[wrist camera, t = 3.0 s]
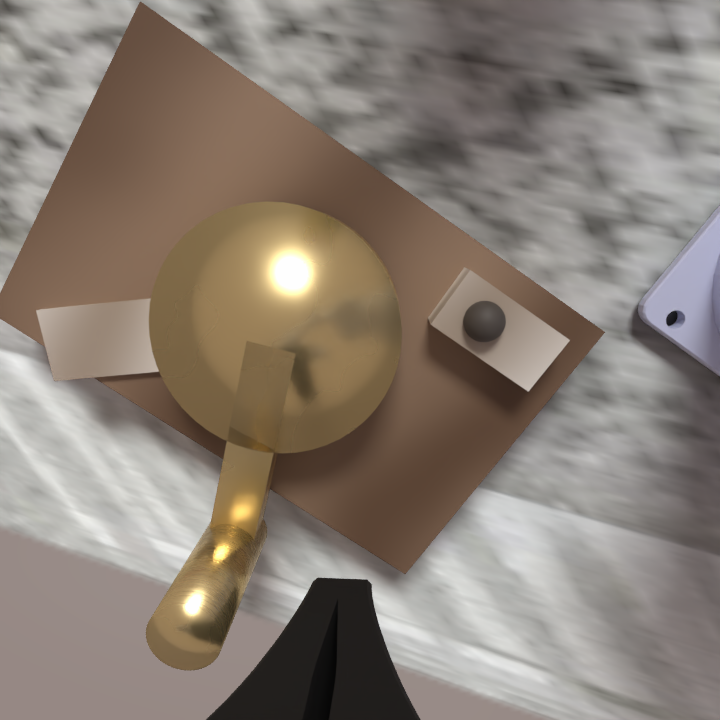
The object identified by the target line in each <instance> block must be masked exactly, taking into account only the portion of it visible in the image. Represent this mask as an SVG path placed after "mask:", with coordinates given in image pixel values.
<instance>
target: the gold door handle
mask: <svg viewBox="0 0 720 720" xmlns="http://www.w3.org/2000/svg"><path fill="white" fill-rule="evenodd" d="M149 336H150V342H151V347H152V352H153V355H154V359H155V362H156V365H157V368H158V370H159V372H160V374H161V377H162V379H163V381H164V383H165V384H166V386H167V388H168V389H169V391H170V393H171V394H172V396H173V397H174V398H175V400H176V401H177V402H178V403H179V405H180V406H181V407H182V408H183V409H184V410H185V411H186V412H187V413H188V414H189V415H190V416H191V417H192V418H193V419H194V420H195V421H196V422H197V423H199V424H200V425H201V426H202V427H204V428H205V429H206V430H208V431H210V432H211V433H213V434H214V435H216V436H218V437H219V438H221V439H223V440H226V441H227V443H226V448H225V453H224V458H223V463H222V468H221V473H220V478H219V483H218V488H217V493H216V499H215V504H214V509H213V514H212V519H211V522H210V524H209V526H208V527H207V529H206V530H205V532H204V534H203V535H202V537H201V538H200V540H199V542H198V543H197V545H196V546H195V548H194V550H193V551H192V553H191V554H190V556H189V558H188V559H187V561H186V562H185V564H184V566H183V567H182V569H181V571H180V572H179V574H178V575H177V577H176V579H175V580H174V582H173V583H172V585H171V587H170V588H169V590H168V591H167V593H166V595H165V596H164V598H163V599H162V601H161V603H160V604H159V606H158V607H157V609H156V611H155V612H154V614H153V616H152V617H151V619H150V620H149V622H148V625H147V628H146V639H147V643H148V645H149V647H150V649H151V651H152V652H153V654H154V655H155V656H156V657H157V658H158V659H159V660H160V661H162V662H163V663H165V664H167V665H168V666H171V667H173V668H176V669H181V670H198V669H202V668H204V667H206V666H208V665H210V664H211V663H212V662H213V661H214V660H215V659H216V658H217V657H218V655H219V653H220V651H221V648H222V646H223V643H224V641H225V639H226V636H227V634H228V631H229V629H230V626H231V624H232V621H233V619H234V617H235V614H236V612H237V609H238V607H239V604H240V602H241V599H242V597H243V594H244V592H245V589H246V587H247V585H248V582H249V580H250V577H251V575H252V572H253V570H254V567H255V565H256V562H257V560H258V558H259V555H260V553H261V550H262V548H263V545H264V543H265V540H266V537H267V527H266V524H265V521H264V519H263V517H264V512H265V508H266V503H267V499H268V494H269V490H270V486H271V481H272V477H273V472H274V468H275V463H276V459H277V455H278V453H297V452H303V451H308V450H313V449H316V448H319V447H322V446H326V445H328V444H330V443H332V442H334V441H337V440H339V439H341V438H342V437H344V436H345V435H347V434H349V433H350V432H352V431H353V430H355V429H356V428H357V427H358V426H359V425H361V424H362V423H363V422H364V421H365V420H366V419H367V418H368V417H369V416H370V415H371V414H372V413H373V412H374V411H375V409H376V408H377V407H378V405H379V404H380V402H381V401H382V400H383V398H384V397H385V395H386V393H387V391H388V389H389V387H390V385H391V383H392V381H393V378H394V375H395V372H396V370H397V367H398V362H399V357H400V352H401V341H402V328H401V315H400V307H399V302H398V297H397V293H396V290H395V287H394V284H393V281H392V278H391V276H390V274H389V272H388V270H387V268H386V266H385V264H384V263H383V261H382V260H381V258H380V257H379V255H378V254H377V252H376V251H375V250H374V249H373V248H372V247H371V245H370V244H369V243H368V242H367V241H366V240H365V239H364V238H363V237H362V236H361V235H359V234H358V233H357V232H356V231H355V230H354V229H352V228H351V227H349V226H348V225H346V224H345V223H343V222H342V221H340V220H338V219H336V218H334V217H332V216H330V215H328V214H325V213H322V212H319V211H316V210H313V209H310V208H307V207H304V206H300V205H295V204H290V203H284V202H256V203H247V204H243V205H239V206H234V207H231V208H228V209H226V210H223V211H221V212H218V213H216V214H214V215H212V216H210V217H209V218H207V219H205V220H203V221H201V222H200V223H199V224H197V225H196V226H195V227H194V228H192V229H191V230H190V231H188V232H187V233H186V234H185V235H184V236H183V237H182V239H181V240H180V241H179V242H178V243H177V244H176V245H175V246H174V248H173V249H172V250H171V252H170V253H169V255H168V256H167V257H166V259H165V261H164V263H163V265H162V267H161V269H160V271H159V273H158V276H157V278H156V281H155V284H154V287H153V291H152V295H151V300H150V307H149Z"/></svg>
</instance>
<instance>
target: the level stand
mask: <svg viewBox="0 0 720 720" xmlns="http://www.w3.org/2000/svg"><path fill="white" fill-rule="evenodd" d="M256 202H284V203H290V204H295V205H300V206H304V207H307V208H310V209H313V210H316V211H319V212H322V213H325V214H328V215H330V216H332V217H334V218H336V219H338V220H340V221H342V222H343V223H345V224H346V225H348V226H349V227H351V228H352V229H354V230H355V231H356V232H357V233H358V234H359V235H361V236H362V237H363V238H364V239H365V240H366V241H367V242H368V243H369V244H370V245H371V247H372V248H373V249H374V250H375V251H376V252H377V254H378V255H379V257H380V258H381V260H382V261H383V263H384V264H385V266H386V268H387V270H388V272H389V274H390V276H391V278H392V281H393V284H394V287H395V290H396V293H397V297H398V302H399V307H400V315H401V328H402V341H401V352H400V357H399V362H398V367H397V370H396V372H395V375H394V378H393V381H392V383H391V385H390V387H389V389H388V391H387V393H386V395H385V397H384V398H383V400H382V401H381V402H380V404H379V405H378V407H377V408H376V409H375V411H374V412H373V413H372V414H371V415H370V416H369V417H368V418H367V419H366V420H365V421H364V422H363V423H362V424H361V425H359V426H358V427H357V428H356V429H355V430H353V431H352V432H350V433H349V434H347V435H345V436H344V437H342V438H341V439H339V440H337V441H334V442H332V443H330V444H328V445H326V446H322V447H319V448H316V449H313V450H308V451H303V452H297V453H278V455H277V459H276V463H275V468H274V472H273V477H272V481H271V486H270V489H271V490H273V491H274V492H276V493H277V494H279V495H281V496H282V497H284V498H285V499H287V500H289V501H290V502H292V503H293V504H295V505H296V506H298V507H300V508H301V509H303V510H304V511H306V512H308V513H309V514H311V515H312V516H314V517H315V518H317V519H319V520H320V521H322V522H323V523H325V524H327V525H328V526H330V527H331V528H333V529H334V530H336V531H338V532H339V533H341V534H342V535H344V536H346V537H347V538H349V539H350V540H352V541H353V542H355V543H357V544H358V545H360V546H361V547H363V548H365V549H366V550H368V551H369V552H371V553H372V554H374V555H376V556H377V557H379V558H380V559H382V560H384V561H385V562H387V563H388V564H390V565H392V566H393V567H395V568H396V569H398V570H399V571H401V572H403V573H404V574H406V572H407V571H408V570H409V569H410V568H411V566H412V565H413V564H414V563H415V562H416V560H417V559H418V558H419V557H420V556H421V554H422V553H423V552H424V551H425V549H426V548H427V547H428V546H429V545H430V543H431V542H432V541H433V540H434V539H435V537H436V536H437V535H438V534H439V533H440V531H441V530H442V529H443V528H444V526H445V525H446V524H447V523H448V522H449V520H450V519H451V518H452V517H453V516H454V514H455V513H456V512H457V511H458V510H459V508H460V507H461V506H462V505H463V503H464V502H465V501H466V500H467V499H468V497H469V496H470V495H471V494H472V493H473V491H474V490H475V489H476V488H477V487H478V485H479V484H480V483H481V482H482V480H483V479H484V478H485V477H486V476H487V474H488V473H489V472H490V471H491V470H492V468H493V467H494V466H495V465H496V464H497V462H498V461H499V460H500V459H501V457H502V456H503V455H504V454H505V453H506V451H507V450H508V449H509V448H510V447H511V445H512V444H513V443H514V442H515V441H516V439H517V438H518V437H519V436H520V434H521V433H522V432H523V431H524V430H525V428H526V427H527V426H528V425H529V424H530V422H531V421H532V420H533V419H534V418H535V416H536V415H537V414H538V413H539V411H540V410H541V409H542V408H543V407H544V405H545V404H546V403H547V402H548V401H549V399H550V398H551V397H552V396H553V395H554V393H555V392H556V391H557V390H558V388H559V387H560V386H561V385H562V384H563V382H564V381H565V380H566V379H567V378H568V376H569V375H570V374H571V373H572V372H573V370H574V369H575V368H576V367H577V365H578V364H579V363H580V362H581V361H582V359H583V358H584V357H585V356H586V355H587V353H588V352H589V351H590V350H591V349H592V347H593V346H594V345H595V344H596V342H597V341H598V340H599V339H600V338H601V336H602V335H603V334H604V333H605V332H604V331H603V330H601V329H600V328H598V327H597V326H595V325H594V324H593V323H591V322H590V321H588V320H587V319H586V318H584V317H583V316H581V315H580V314H579V313H577V312H576V311H574V310H573V309H572V308H570V307H569V306H567V305H566V304H565V303H563V302H562V301H560V300H559V299H558V298H556V297H555V296H553V295H552V294H551V293H549V292H548V291H546V290H545V289H544V288H542V287H541V286H539V285H538V284H536V283H535V282H534V281H532V280H531V279H529V278H528V277H527V276H525V275H524V274H522V273H521V272H520V271H518V270H517V269H515V268H514V267H513V266H511V265H510V264H508V263H507V262H506V261H504V260H503V259H501V258H500V257H499V256H497V255H496V254H494V253H493V252H492V251H490V250H489V249H487V248H486V247H485V246H483V245H482V244H480V243H479V242H477V241H476V240H475V239H473V238H472V237H470V236H469V235H468V234H466V233H465V232H463V231H462V230H461V229H459V228H458V227H456V226H455V225H454V224H452V223H451V222H449V221H448V220H447V219H445V218H444V217H442V216H441V215H440V214H438V213H437V212H435V211H434V210H433V209H431V208H430V207H428V206H427V205H426V204H424V203H423V202H421V201H420V200H418V199H417V198H416V197H414V196H413V195H411V194H410V193H409V192H407V191H406V190H404V189H403V188H402V187H400V186H399V185H397V184H396V183H395V182H393V181H392V180H390V179H389V178H388V177H386V176H385V175H383V174H382V173H381V172H379V171H378V170H376V169H375V168H374V167H372V166H371V165H369V164H368V163H367V162H365V161H364V160H362V159H361V158H359V157H358V156H357V155H355V154H354V153H352V152H351V151H350V150H348V149H347V148H345V147H344V146H343V145H341V144H340V143H338V142H337V141H336V140H334V139H333V138H331V137H330V136H329V135H327V134H326V133H324V132H323V131H322V130H320V129H319V128H317V127H316V126H315V125H313V124H312V123H310V122H309V121H308V120H306V119H305V118H303V117H302V116H300V115H299V114H298V113H296V112H295V111H293V110H292V109H291V108H289V107H288V106H286V105H285V104H284V103H282V102H281V101H279V100H278V99H277V98H275V97H274V96H272V95H271V94H270V93H268V92H267V91H265V90H264V89H263V88H261V87H260V86H258V85H257V84H256V83H254V82H253V81H251V80H250V79H249V78H247V77H246V76H244V75H243V74H241V73H240V72H239V71H237V70H236V69H234V68H233V67H232V66H230V65H229V64H227V63H226V62H225V61H223V60H222V59H220V58H219V57H218V56H216V55H215V54H213V53H212V52H211V51H209V50H208V49H206V48H205V47H204V46H202V45H201V44H199V43H198V42H197V41H195V40H194V39H192V38H191V37H190V36H188V35H187V34H185V33H184V32H182V31H181V30H180V29H178V28H177V27H175V26H174V25H173V24H171V23H170V22H168V21H167V20H166V19H164V18H163V17H161V16H160V15H159V14H157V13H156V12H154V11H153V10H152V9H150V8H149V7H147V6H146V5H145V4H143V3H142V2H140V3H139V5H138V7H137V9H136V11H135V13H134V15H133V17H132V19H131V21H130V24H129V26H128V28H127V30H126V32H125V34H124V36H123V38H122V40H121V42H120V44H119V47H118V49H117V51H116V53H115V55H114V57H113V59H112V61H111V63H110V65H109V67H108V69H107V72H106V74H105V76H104V78H103V80H102V82H101V84H100V86H99V88H98V90H97V92H96V94H95V97H94V99H93V101H92V103H91V105H90V107H89V109H88V111H87V113H86V115H85V117H84V120H83V122H82V124H81V126H80V128H79V130H78V132H77V134H76V136H75V138H74V140H73V142H72V145H71V147H70V149H69V151H68V153H67V155H66V157H65V159H64V161H63V163H62V165H61V167H60V170H59V172H58V174H57V176H56V178H55V180H54V182H53V184H52V186H51V188H50V190H49V193H48V195H47V197H46V199H45V201H44V203H43V205H42V207H41V209H40V211H39V213H38V215H37V218H36V220H35V222H34V224H33V226H32V228H31V230H30V232H29V234H28V236H27V238H26V241H25V243H24V245H23V247H22V249H21V251H20V253H19V255H18V257H17V259H16V261H15V263H14V266H13V268H12V270H11V272H10V274H9V276H8V278H7V280H6V282H5V284H4V286H3V288H2V291H1V293H0V319H2V320H3V321H5V322H7V323H8V324H10V325H11V326H13V327H14V328H16V329H18V330H19V331H21V332H22V333H24V334H26V335H27V336H29V337H30V338H32V339H33V340H35V341H37V342H38V343H40V344H41V345H43V346H45V347H46V351H47V355H48V359H49V363H50V367H51V371H52V375H53V379H54V381H60V380H71V379H82V378H93V377H94V378H95V379H97V380H98V381H100V382H102V383H103V384H105V385H106V386H108V387H110V388H111V389H113V390H114V391H116V392H117V393H119V394H121V395H122V396H124V397H125V398H127V399H129V400H130V401H132V402H133V403H135V404H136V405H138V406H140V407H141V408H143V409H144V410H146V411H148V412H149V413H151V414H152V415H154V416H155V417H157V418H159V419H160V420H162V421H163V422H165V423H167V424H168V425H170V426H171V427H173V428H174V429H176V430H178V431H179V432H181V433H182V434H184V435H186V436H187V437H189V438H190V439H192V440H193V441H195V442H197V443H198V444H200V445H201V446H203V447H205V448H206V449H208V450H209V451H211V452H212V453H214V454H216V455H217V456H219V457H220V458H222V459H223V458H224V453H225V448H226V443H227V441H226V440H223V439H221V438H219V437H218V436H216V435H214V434H213V433H211V432H210V431H208V430H206V429H205V428H204V427H202V426H201V425H200V424H199V423H197V422H196V421H195V420H194V419H193V418H192V417H191V416H190V415H189V414H188V413H187V412H186V411H185V410H184V409H183V408H182V407H181V406H180V405H179V403H178V402H177V401H176V400H175V398H174V397H173V396H172V394H171V393H170V391H169V389H168V388H167V386H166V384H165V383H164V381H163V379H162V377H161V374H160V372H159V370H158V368H157V365H156V362H155V359H154V355H153V352H152V347H151V342H150V336H149V307H150V300H151V295H152V291H153V287H154V284H155V281H156V278H157V276H158V273H159V271H160V269H161V267H162V265H163V263H164V261H165V259H166V257H167V256H168V255H169V253H170V252H171V250H172V249H173V248H174V246H175V245H176V244H177V243H178V242H179V241H180V240H181V239H182V237H183V236H184V235H185V234H186V233H187V232H188V231H190V230H191V229H192V228H194V227H195V226H196V225H197V224H199V223H200V222H201V221H203V220H205V219H207V218H209V217H210V216H212V215H214V214H216V213H218V212H221V211H223V210H226V209H228V208H231V207H234V206H239V205H243V204H247V203H256Z"/></svg>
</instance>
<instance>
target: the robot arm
mask: <svg viewBox="0 0 720 720" xmlns="http://www.w3.org/2000/svg"><path fill="white" fill-rule="evenodd" d="M672 311H676V312H677V315H678V318H677V320H676V322H675V323H674V324H673V325H671V326H668V325H667V324H666V318H667V316H668V314H669V313H671V312H672ZM638 313H639V317H640V318H641V319H642V320H643V322H645V323H646V324H647V325H649V326H650V327H652V328H653V329H654V330H656V331H657V332H658V333H660V334H661V335H663V336H664V337H665V338H667V339H668V340H670V341H671V342H672V343H674V344H675V345H677V346H678V347H679V348H681V349H682V350H683V351H685V352H686V353H688V354H689V355H690V356H692V357H693V358H695V359H696V360H697V361H699V362H700V363H702V364H703V365H704V366H706V367H707V368H708V369H710V370H711V371H713V372H714V373H715V374H717V375H718V376H720V205H719V206H718V208H717V209H716V210H715V211H714V212H713V214H712V215H711V216H710V217H709V219H708V220H707V221H706V222H705V223H704V225H703V226H702V227H701V228H700V229H699V231H698V232H697V233H696V234H695V235H694V237H693V238H692V239H691V240H690V241H689V243H688V244H687V245H686V246H685V247H684V249H683V250H682V251H681V252H680V253H679V255H678V256H677V257H676V258H675V259H674V261H673V262H672V263H671V264H670V265H669V267H668V268H667V269H666V270H665V271H664V273H663V274H662V275H661V276H660V277H659V279H658V280H657V281H656V282H655V283H654V285H653V286H652V287H651V288H650V290H649V291H648V292H647V293H646V294H645V296H644V297H643V298H642V300H641V301H640V303H639V306H638ZM206 720H420V718H419V716H418V715H417V713H416V711H415V709H414V707H413V706H412V704H411V701H410V699H409V698H408V696H407V694H406V692H405V689H404V687H403V685H402V683H401V681H400V679H399V677H398V674H397V672H396V670H395V667H394V665H393V663H392V660H391V658H390V655H389V653H388V650H387V647H386V644H385V642H384V639H383V636H382V633H381V630H380V627H379V624H378V620H377V616H376V612H375V608H374V604H373V598H372V584H371V583H370V582H369V581H368V580H361V579H335V578H317V579H316V580H315V581H313V583H312V585H311V587H310V589H309V591H308V593H307V594H306V596H305V598H304V600H303V601H302V603H301V605H300V606H299V608H298V609H297V611H296V613H295V614H294V616H293V617H292V619H291V620H290V622H289V623H288V625H287V626H286V627H285V629H284V631H283V632H282V633H281V635H280V636H279V638H278V639H277V640H276V642H275V643H274V644H273V646H272V647H271V648H270V650H269V651H268V652H267V653H266V655H265V656H264V657H263V658H262V660H261V661H260V662H259V664H258V665H257V666H256V667H255V669H254V670H253V671H252V672H251V673H250V675H249V676H248V677H247V678H246V679H245V680H244V681H243V682H242V684H241V685H240V686H239V687H238V688H237V689H236V690H235V691H234V692H233V693H232V694H231V696H230V697H229V698H228V699H227V700H226V701H225V702H224V703H223V704H222V705H221V706H220V707H219V708H218V709H217V710H216V711H215V712H214V713H212V715H210V716H209V717H208V718H207V719H206Z"/></svg>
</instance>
